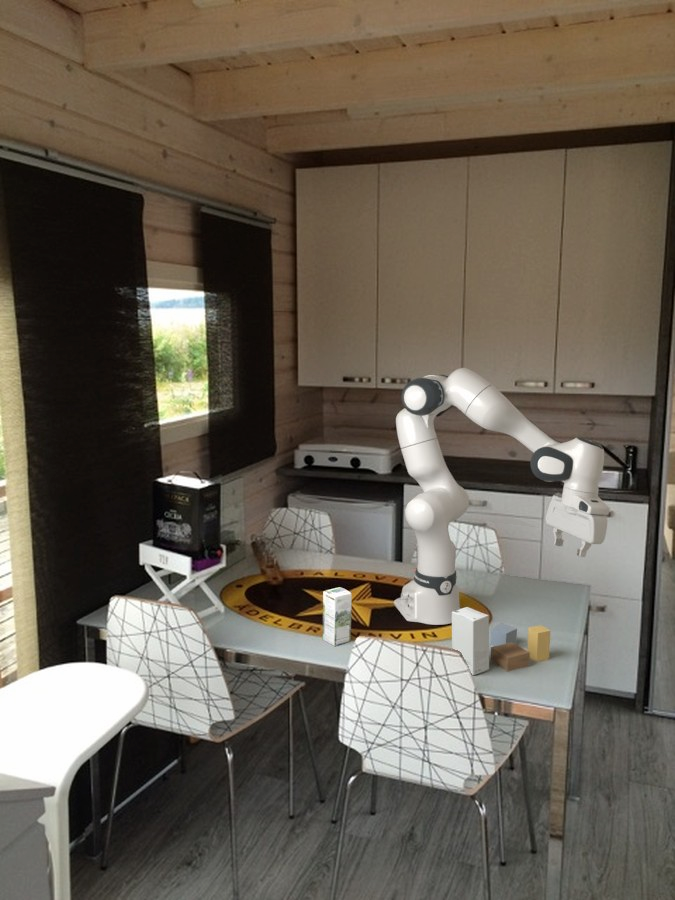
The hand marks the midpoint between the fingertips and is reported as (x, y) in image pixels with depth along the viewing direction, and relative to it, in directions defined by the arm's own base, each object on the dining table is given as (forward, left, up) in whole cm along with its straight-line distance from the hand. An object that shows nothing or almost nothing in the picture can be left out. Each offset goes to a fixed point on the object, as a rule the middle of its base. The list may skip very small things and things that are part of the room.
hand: (569, 550), depth 213 cm
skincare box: (-1, -29, -28) cm, 41 cm away
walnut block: (+1, -18, -28) cm, 34 cm away
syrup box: (-29, -54, -28) cm, 68 cm away
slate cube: (-9, -13, -28) cm, 32 cm away
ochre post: (+1, -9, -28) cm, 29 cm away
